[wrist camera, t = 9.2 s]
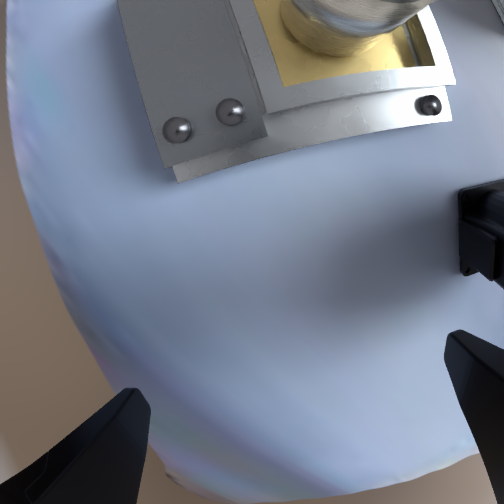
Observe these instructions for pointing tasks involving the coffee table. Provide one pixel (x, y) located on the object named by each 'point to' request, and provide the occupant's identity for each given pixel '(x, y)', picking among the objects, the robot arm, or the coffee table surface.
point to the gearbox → (271, 82)
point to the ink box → (499, 8)
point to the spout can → (346, 22)
